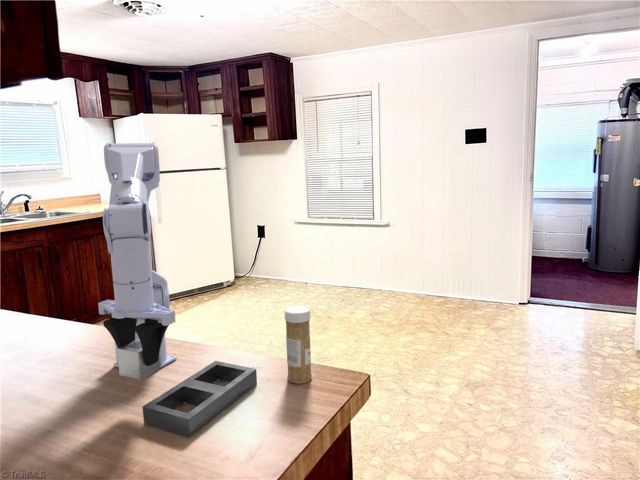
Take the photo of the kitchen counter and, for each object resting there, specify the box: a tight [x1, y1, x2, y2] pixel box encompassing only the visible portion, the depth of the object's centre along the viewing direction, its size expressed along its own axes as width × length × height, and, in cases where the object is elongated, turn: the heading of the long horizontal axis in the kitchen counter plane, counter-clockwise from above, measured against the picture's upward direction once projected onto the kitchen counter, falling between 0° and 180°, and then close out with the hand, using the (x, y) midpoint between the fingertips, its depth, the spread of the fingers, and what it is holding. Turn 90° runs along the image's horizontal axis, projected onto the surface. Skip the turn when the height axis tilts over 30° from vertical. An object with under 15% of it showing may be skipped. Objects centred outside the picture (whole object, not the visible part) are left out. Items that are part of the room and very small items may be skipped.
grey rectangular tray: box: [142, 360, 258, 439], centre depth 79 cm, size 9×18×3 cm, turn 155°
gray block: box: [117, 338, 162, 381], centre depth 77 cm, size 4×4×4 cm
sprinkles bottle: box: [284, 305, 313, 385], centre depth 87 cm, size 5×5×13 cm
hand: (140, 360), depth 78 cm, fingers closed on gray block, 4 cm apart
